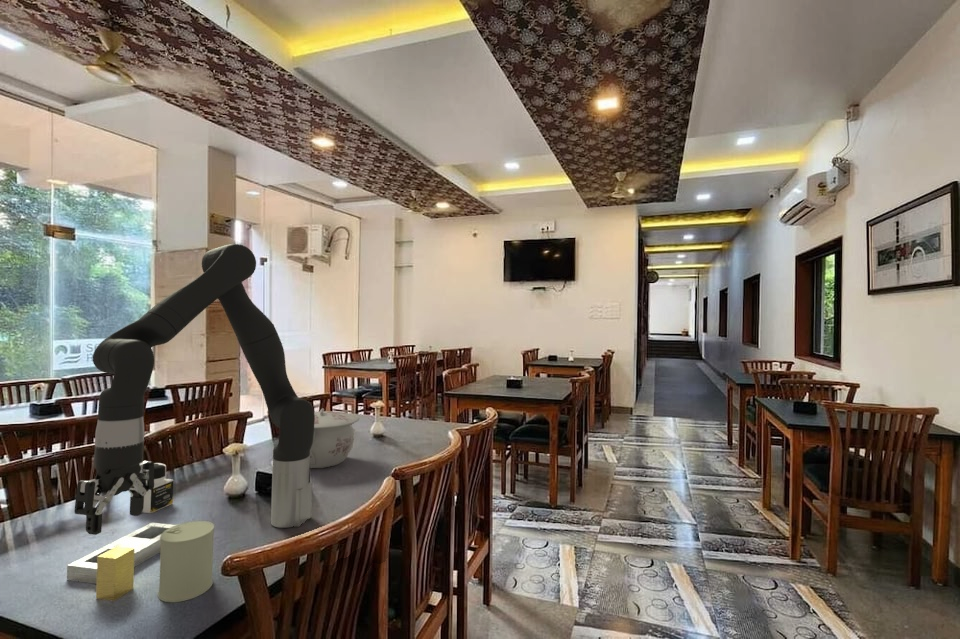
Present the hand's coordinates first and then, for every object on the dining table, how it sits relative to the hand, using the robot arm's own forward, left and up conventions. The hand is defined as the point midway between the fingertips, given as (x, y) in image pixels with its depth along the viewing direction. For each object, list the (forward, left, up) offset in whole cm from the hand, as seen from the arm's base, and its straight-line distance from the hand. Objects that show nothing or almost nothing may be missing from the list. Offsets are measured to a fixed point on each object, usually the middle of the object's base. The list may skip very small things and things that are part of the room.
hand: (116, 523), depth 88 cm
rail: (+9, -12, -14) cm, 20 cm away
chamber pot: (+1, -83, -14) cm, 84 cm away
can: (-12, -4, -14) cm, 19 cm away
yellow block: (0, 0, -14) cm, 14 cm away
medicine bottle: (+27, -36, -14) cm, 47 cm away
